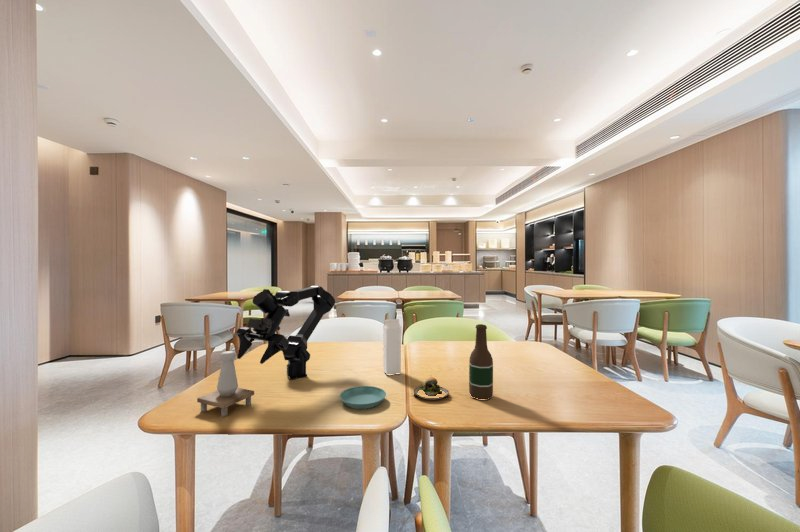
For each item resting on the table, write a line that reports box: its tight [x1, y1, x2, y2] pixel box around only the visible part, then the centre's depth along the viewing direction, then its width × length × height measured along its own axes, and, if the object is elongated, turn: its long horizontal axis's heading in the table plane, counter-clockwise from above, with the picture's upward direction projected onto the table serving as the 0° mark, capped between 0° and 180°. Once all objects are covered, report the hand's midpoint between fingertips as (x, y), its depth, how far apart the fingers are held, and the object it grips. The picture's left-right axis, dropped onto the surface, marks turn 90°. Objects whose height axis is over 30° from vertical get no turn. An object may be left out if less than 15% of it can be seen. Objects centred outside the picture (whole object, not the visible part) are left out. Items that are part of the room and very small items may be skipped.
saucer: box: [339, 385, 387, 410], centre depth 107 cm, size 15×15×3 cm
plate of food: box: [413, 376, 450, 400], centre depth 113 cm, size 12×12×8 cm
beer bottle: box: [468, 324, 494, 399], centre depth 112 cm, size 8×8×24 cm
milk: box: [382, 318, 402, 374], centre depth 136 cm, size 6×6×22 cm
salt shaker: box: [216, 350, 239, 397], centre depth 102 cm, size 6×6×13 cm
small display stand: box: [196, 387, 255, 418], centre depth 102 cm, size 11×11×4 cm
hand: (249, 360), depth 111 cm, fingers open, 9 cm apart
